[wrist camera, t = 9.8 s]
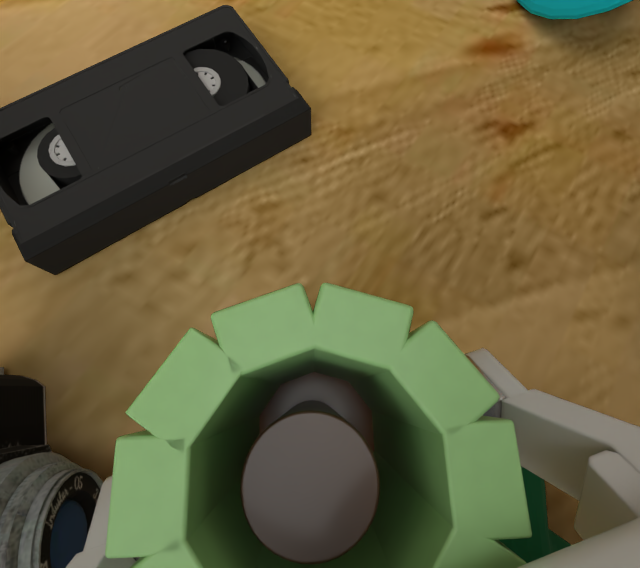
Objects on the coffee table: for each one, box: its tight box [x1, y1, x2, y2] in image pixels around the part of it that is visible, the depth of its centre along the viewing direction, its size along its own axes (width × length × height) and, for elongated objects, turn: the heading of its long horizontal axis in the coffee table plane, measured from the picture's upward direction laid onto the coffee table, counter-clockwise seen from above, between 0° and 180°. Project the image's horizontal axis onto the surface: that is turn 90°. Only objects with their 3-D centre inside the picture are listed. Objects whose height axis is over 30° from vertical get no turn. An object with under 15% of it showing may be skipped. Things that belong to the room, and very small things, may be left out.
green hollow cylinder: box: [105, 283, 532, 568], centre depth 10 cm, size 6×7×8 cm
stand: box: [240, 372, 380, 565], centre depth 12 cm, size 9×9×10 cm
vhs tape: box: [0, 5, 311, 275], centre depth 19 cm, size 14×8×2 cm, turn 123°
